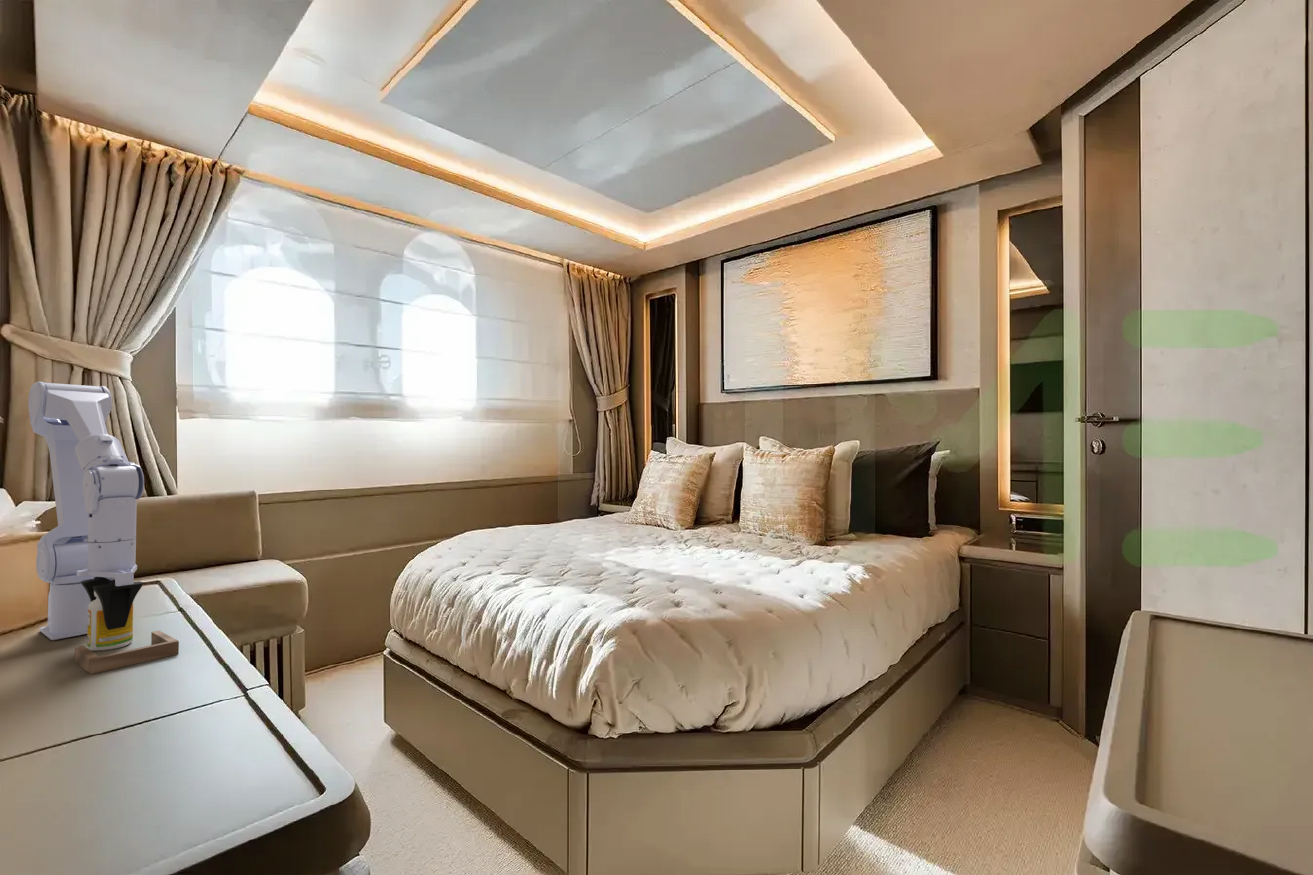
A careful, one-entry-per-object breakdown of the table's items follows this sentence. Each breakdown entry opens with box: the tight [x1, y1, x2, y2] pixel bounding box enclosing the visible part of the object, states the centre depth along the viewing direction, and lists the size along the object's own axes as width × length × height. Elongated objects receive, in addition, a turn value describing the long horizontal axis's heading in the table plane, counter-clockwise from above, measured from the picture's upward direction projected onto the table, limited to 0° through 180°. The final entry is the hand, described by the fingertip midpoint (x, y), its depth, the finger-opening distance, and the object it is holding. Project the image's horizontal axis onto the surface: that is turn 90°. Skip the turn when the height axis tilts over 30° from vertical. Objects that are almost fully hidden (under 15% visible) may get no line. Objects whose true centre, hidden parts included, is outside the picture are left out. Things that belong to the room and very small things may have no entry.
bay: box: [74, 630, 180, 675], centre depth 89 cm, size 9×10×2 cm
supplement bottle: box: [86, 591, 134, 652], centre depth 95 cm, size 5×5×10 cm
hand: (110, 624), depth 95 cm, fingers closed on supplement bottle, 5 cm apart
